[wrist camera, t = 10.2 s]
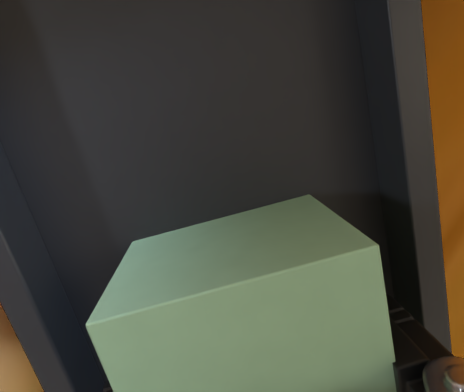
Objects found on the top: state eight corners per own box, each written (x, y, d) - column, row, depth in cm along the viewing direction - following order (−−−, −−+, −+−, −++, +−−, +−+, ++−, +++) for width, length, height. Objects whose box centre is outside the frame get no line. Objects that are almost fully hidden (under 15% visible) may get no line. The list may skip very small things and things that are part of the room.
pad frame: (130, 462, 13) (114, 537, 10) (-116, -97, 8) (-242, -181, 6) (415, 381, 13) (459, 437, 11) (341, -205, 8) (394, -325, 6)
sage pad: (199, 431, 11) (197, 591, 8) (131, 241, 10) (83, 325, 6) (347, 389, 12) (419, 525, 8) (309, 193, 10) (379, 243, 6)
